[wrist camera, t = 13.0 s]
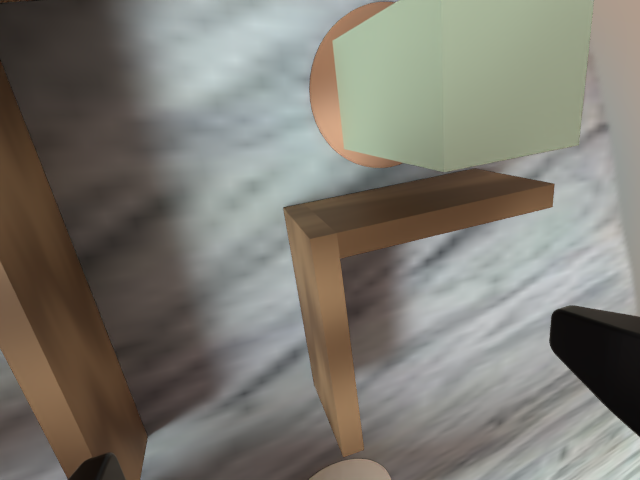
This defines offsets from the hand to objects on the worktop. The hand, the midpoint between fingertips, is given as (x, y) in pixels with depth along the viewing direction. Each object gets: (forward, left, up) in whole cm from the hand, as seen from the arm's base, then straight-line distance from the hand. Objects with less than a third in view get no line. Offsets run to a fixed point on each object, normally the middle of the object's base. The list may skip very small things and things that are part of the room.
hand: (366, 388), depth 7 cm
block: (+5, -6, -11) cm, 14 cm away
